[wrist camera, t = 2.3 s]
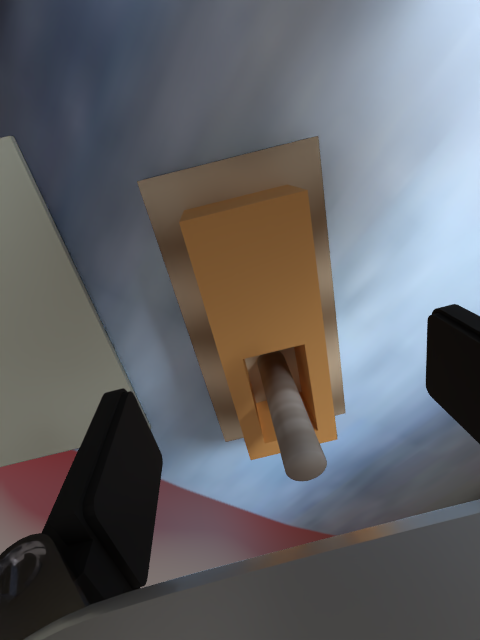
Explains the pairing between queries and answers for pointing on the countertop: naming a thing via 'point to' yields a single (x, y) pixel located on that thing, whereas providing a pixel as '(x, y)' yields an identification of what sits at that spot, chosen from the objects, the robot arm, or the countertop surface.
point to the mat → (45, 328)
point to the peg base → (264, 370)
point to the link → (263, 300)
